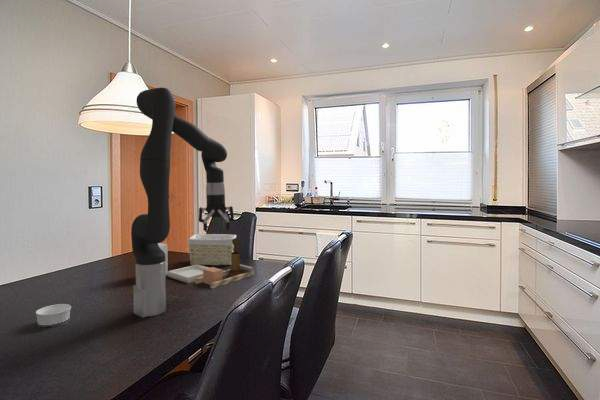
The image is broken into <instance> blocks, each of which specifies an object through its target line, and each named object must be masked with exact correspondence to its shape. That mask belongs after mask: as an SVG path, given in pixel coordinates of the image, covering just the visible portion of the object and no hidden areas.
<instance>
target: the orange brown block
mask: <svg viewBox="0 0 600 400" xmlns="http://www.w3.org/2000/svg"><path fill="white" fill-rule="evenodd" d="M223 271H224V269H222V268H217V267H214V266H211V267H209V268H207V269H203V282H202V283H204V284H206V285H209V286H210V283H213V282H217V281H220V280H223V279H224V276H223Z"/></svg>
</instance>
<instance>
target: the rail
mask: <svg viewBox="0 0 600 400" xmlns="http://www.w3.org/2000/svg"><path fill="white" fill-rule="evenodd" d="M240 269H241V270H242V272H243V274H240V275H237V276H233V277H228V278H223V280H220V281H217V282H213V283H210V285H209V286H210V287H209V288H210V289H212V290H213V289H216V288H219V287H222V286H225V285H228V284H232V283H235V282H238V281H241V280H244V279H247V278H250V277H254V275H255V273H254V272H255V269H254V267H253V266H249V265H244V264H241V263H240ZM230 270H231V268H229V269H225V270H223V277H224V276H228V272H229V271H230ZM194 283H195V284H196V285H197V284H201V283H203V277H200V278H196V279H195V282H194Z"/></svg>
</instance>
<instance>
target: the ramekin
mask: <svg viewBox="0 0 600 400" xmlns="http://www.w3.org/2000/svg"><path fill="white" fill-rule="evenodd" d="M71 309H72V306H71V304H68V303H57V304H52V305H47V306H43V307H41V308H39V309H37V310H36V311H35V315H36V322H37V325H38V324H39V325H52V324H57V323H61V322H64V321H66V320H68V319H69V320H70V317H71V315H70V314H71ZM69 320H68V321H69ZM39 325H38V326H39Z"/></svg>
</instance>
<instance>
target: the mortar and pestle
mask: <svg viewBox="0 0 600 400" xmlns="http://www.w3.org/2000/svg"><path fill="white" fill-rule="evenodd" d="M239 242H240V241H239V238H237V237H236V238H234V239H233V240H232V243H233V245H234V248H233V251H234V252H232V253H231V265H230V269H231V270H230V271H229V272H228V275H227V276H228V278H230V277H233V276H237V275H240V274H243V272H242V270H241V269H240V264H241V263H240V262H241V261H240V260H241V259H240V258H241V255H240V254H241V253H240V252H239V251H238V250H239V248H238V244H240V243H239Z"/></svg>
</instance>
